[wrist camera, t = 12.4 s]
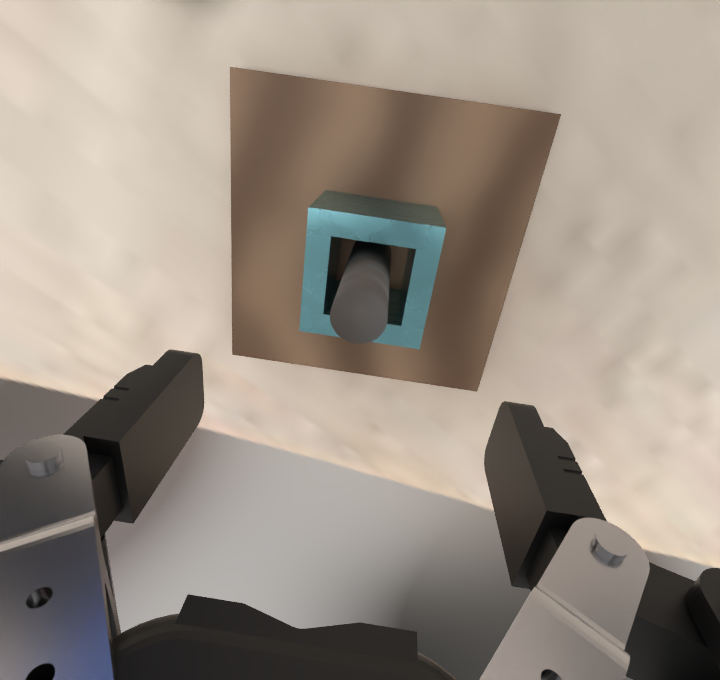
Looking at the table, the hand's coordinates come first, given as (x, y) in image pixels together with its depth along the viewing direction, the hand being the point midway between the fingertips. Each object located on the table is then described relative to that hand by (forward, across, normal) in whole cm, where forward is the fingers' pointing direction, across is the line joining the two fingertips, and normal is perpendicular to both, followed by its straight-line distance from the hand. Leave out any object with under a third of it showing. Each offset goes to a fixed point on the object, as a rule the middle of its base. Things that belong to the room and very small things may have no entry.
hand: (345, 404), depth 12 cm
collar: (+14, 0, 0) cm, 15 cm away
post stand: (+16, 0, 0) cm, 16 cm away
